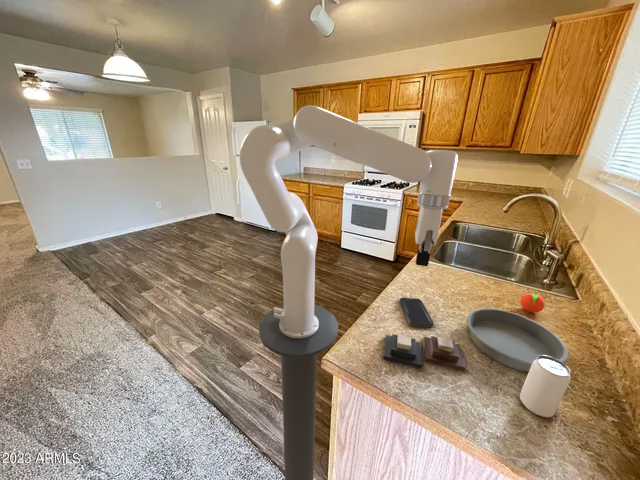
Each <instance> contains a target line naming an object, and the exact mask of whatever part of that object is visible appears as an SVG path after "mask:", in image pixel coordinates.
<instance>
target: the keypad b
mask: <svg viewBox="0 0 640 480" xmlns="http://www.w3.org/2000/svg"><path fill="white" fill-rule="evenodd" d="M437 338H438V336H434V335H430V337H427V336H423V338H422V342H423V343H422V344H423V356H424V362H426V363H430V364H434V365H438V366H444V367H447V368H451V369H456V370H460V371H466V363H465V359H464V356H463V351H462V348H461V345H460V343H456V340H454V339H451V340H452V344H453V351H452V352H447V351H443V350H438V346H437Z"/></svg>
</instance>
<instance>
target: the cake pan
mask: <svg viewBox="0 0 640 480" xmlns="http://www.w3.org/2000/svg"><path fill="white" fill-rule="evenodd" d="M466 324H467V326H468V328H469V336H470V338H471V340H472V342H473V343H474V344H475V346H476V347H477V348H478V349H479V350H481V351H482V352H483V353H484V354H485V355H487V356H488V357H490V358H491V359H492V360H494V361H496V362H498V363H501V364H502V365H505V366H507V367H510V368H513V369H514V370H517V371H522V372H527V373H529V370H530V368H531V365H532V363H533V361H534V360H536V359H537V357H538V356H541V355H545V356H550V357H553V358H555V359H557V360H559V361H561V362H562V363H564V364H565V362H566V361H567V360H568V358H569V351H568V348H567V346H566V344H565V342H564V341H562V339H561V338H560V337H559V336H557V335H556V334H555V332H553V331H551V330H550V329H548V328H547V327H545V326H544V325H542V324H540V322H537V321H535V320H534V319H531V318H529V317H527V316H524V315H522V314H519V313H516V312H512V311H508V310H506V309H505V310H504V309H500V308H493V307H492V308H491V307H489V308H477V309H475V310H471V312H469V313H468V315H467V316H466Z"/></svg>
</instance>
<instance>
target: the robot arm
mask: <svg viewBox="0 0 640 480" xmlns="http://www.w3.org/2000/svg"><path fill="white" fill-rule="evenodd" d="M312 146H313V147H316V148H319V149H321V150H324V151H326V152H329V153H331V154H334V155H336V156H339V157H341V158H343V159H346V160H349V161H351V162H352V163H353V162H354V163H355V164H359V165H362V166H366V167H369V168H371V169H374V170H376V171H379V172H381V173H383V174H386V175H389V176H390V177H391V176H392V177H394V178H396V179H399V180H401V181H404V182H405V183H411V184H414V183H415V184H416V183H419V182H420V183H419V189H418V195H417V202H416V205H417V206H418V207H419V210H418V211H419V212H418V216H417V222H416V228H415V233H414V241H415V243H416V245H418V249H417V252H416V259H415V265H416V266H420V267H428V266H429V263H430V257H431V250H432V247H435V246H436V245H437V243H438V238H439V233H440V229H441V228H440V227H441V222H442V217H443V210H447V209H448V208H449V203H450V200H451V195H452V190H453V184H454V180H455V179H454V178H455V175H456V169H457V164H458V159H459V157H458V156H459V155H458V152H456V151H454V150H449V149H430V150H424V149H422V148H420V147H417V146H414V145H412V144H410V143H407V142H404V141H402V140H399V139H397V138H394V137H392V136H389V135H387V134H385V133H382V132H380V131H377V130H375V129H373V128H370V127H369V126H367V125H363V124H361V123H358V122H356V121H353V120H352V119H349V118H347V117H344V116H341V115H338V114H336V113H334V112H331V111H329V110H327V109H324V108H321V107H319V106H317V105H311V104H308V105H303V106H302V107H300V108H299V109H298V111H297V112H296V114H295V116H294V117H293V118H291V119H289V120H287V121H284V122H281V123H280V124H278V125H275V126H274V125H269V124H262V125H261V124H260V125H258V126H256V127H254V128H253V129H251V130H249V132H248V133H247V134H246V136H245V137H244V139H243V141H242V143H241V146H240V149H239V165H240V169H241V171H242V174H243V176H244V178H245V180H246V182H247V184H248V185H249V187H250V189H251V191H252V193H253V195H254V197H255V200H256V201H257V204H258V205H259V207H260V209H261V211H262V213H263V215H264V217H265V219H266V221H267V223H268V225H269V226H270V227H271V228H272V229H273V230H274V231H276V232H279V233H285V235H286V237H285V238H284V240H283V242H282V245H281V248H280V261H281V267H282V285H283V287H282V288H283V290H282V291H283V305H284V309H280V308H277V307H278V306H277V307H276V306H274V308H273V309H274V310H273V309H272V310H273V313H274V316H273V317H274V318H280V323H279V327H280V330H281V332H282V333H283V334H284V335H286V336H288V337H291V338H297V339H299V338H306V337H309V336H311V335H313V334H314V333H315V332H316V331H317V330H318V327H319V321H318V319H317V317H316V316H315V315H314V305H315V295H316V294H315V293H316V291H315V290H316V252H317V247H318V240H319V236H318V232H317V229H316V226H315V224H314V223H313V221H312V218H311V216H310V214H309V212H308V209H307V207H306V205H305V204H304V203H305V202H303V200H302V198H300V196H299V195H297V194H295V193H294V192H291V191H289V190H288V188H287V186H286V184H285V182H284V179H283V178H282V176H281V174H280V173H279V171H278V170H277V167H276V161H278V160H282V159H284V158H286V157H288V156H291V155H294V154H296V153H298V152H300V151H303V150H305V149H307V148H309V147H312ZM280 314H281V315H280Z"/></svg>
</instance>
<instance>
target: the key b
mask: <svg viewBox="0 0 640 480" xmlns="http://www.w3.org/2000/svg"><path fill="white" fill-rule="evenodd" d="M437 337H438V338H437V346H438V350H443V351H447V352H452V351H453V344H452V340H453V339H452V338H448V337H443V336H439V335H438V336H437Z"/></svg>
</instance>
